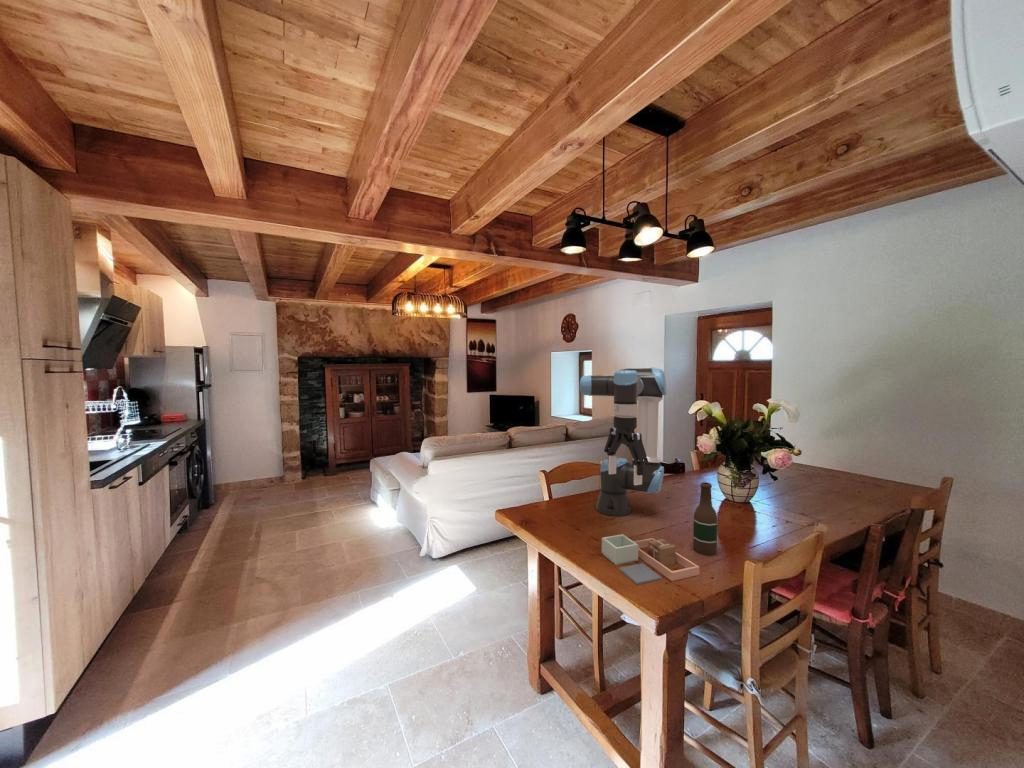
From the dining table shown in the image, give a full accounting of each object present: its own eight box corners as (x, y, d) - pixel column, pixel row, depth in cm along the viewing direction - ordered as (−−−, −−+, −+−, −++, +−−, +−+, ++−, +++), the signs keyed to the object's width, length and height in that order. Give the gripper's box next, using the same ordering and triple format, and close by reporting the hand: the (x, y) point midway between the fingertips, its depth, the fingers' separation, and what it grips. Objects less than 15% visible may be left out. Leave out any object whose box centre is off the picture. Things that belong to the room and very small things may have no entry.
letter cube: (647, 558, 129) (647, 541, 129) (662, 555, 131) (662, 538, 131) (660, 567, 124) (660, 549, 123) (675, 564, 126) (675, 546, 125)
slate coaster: (619, 569, 122) (619, 567, 122) (642, 565, 125) (642, 563, 125) (637, 584, 114) (637, 582, 114) (661, 579, 117) (661, 577, 117)
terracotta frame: (628, 549, 136) (628, 542, 136) (652, 544, 139) (652, 537, 139) (671, 581, 116) (672, 572, 116) (699, 574, 119) (699, 566, 119)
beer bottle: (710, 558, 129) (711, 488, 128) (688, 549, 136) (689, 482, 135) (721, 551, 134) (722, 483, 133) (699, 543, 140) (700, 478, 139)
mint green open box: (601, 553, 133) (601, 537, 133) (622, 549, 136) (622, 534, 136) (616, 565, 125) (616, 548, 125) (638, 560, 128) (638, 544, 128)
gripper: (594, 412, 139) (594, 470, 140) (641, 421, 116) (640, 491, 116) (612, 412, 141) (611, 469, 142) (660, 420, 118) (659, 488, 119)
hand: (624, 479), depth 129 cm, fingers open, 13 cm apart
